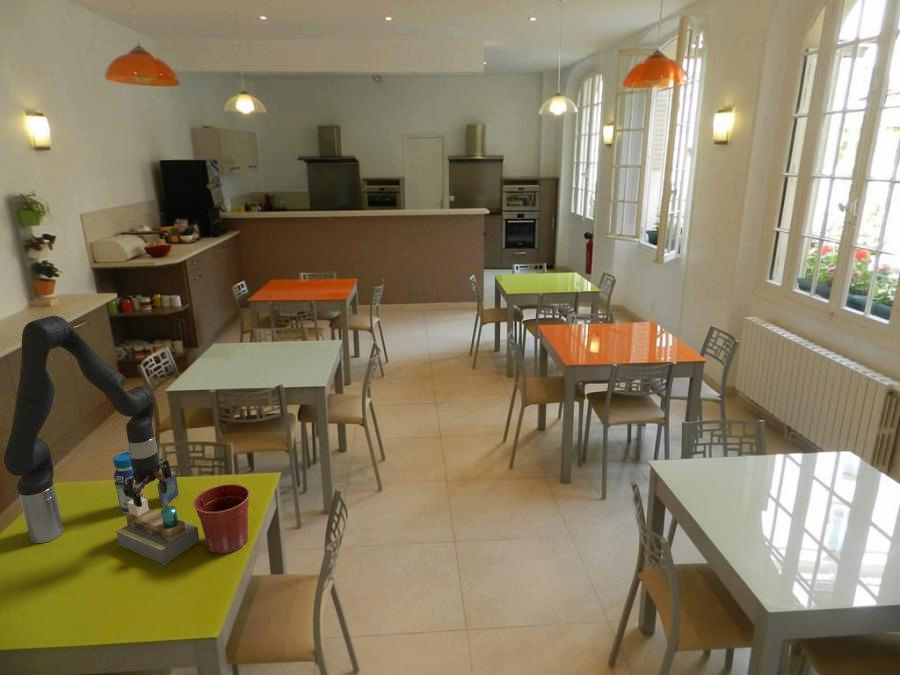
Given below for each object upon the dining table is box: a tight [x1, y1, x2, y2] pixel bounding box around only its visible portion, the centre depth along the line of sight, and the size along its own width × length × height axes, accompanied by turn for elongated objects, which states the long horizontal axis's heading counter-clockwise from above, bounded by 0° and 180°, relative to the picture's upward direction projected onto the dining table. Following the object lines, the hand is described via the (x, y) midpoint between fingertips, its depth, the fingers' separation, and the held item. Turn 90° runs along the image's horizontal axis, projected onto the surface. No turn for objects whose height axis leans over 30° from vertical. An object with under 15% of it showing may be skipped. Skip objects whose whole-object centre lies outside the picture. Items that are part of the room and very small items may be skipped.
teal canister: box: [160, 505, 179, 528], centre depth 184 cm, size 4×4×5 cm
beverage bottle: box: [112, 451, 147, 515], centre depth 207 cm, size 8×8×20 cm
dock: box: [115, 521, 200, 565], centre depth 189 cm, size 21×13×5 cm, turn 63°
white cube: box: [127, 497, 150, 517], centre depth 191 cm, size 4×4×4 cm
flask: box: [156, 471, 180, 508], centre depth 213 cm, size 9×3×11 cm, turn 172°
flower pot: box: [192, 483, 251, 555], centre depth 188 cm, size 16×16×16 cm
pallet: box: [125, 508, 186, 543], centre depth 188 cm, size 20×6×4 cm, turn 63°
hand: (151, 499), depth 186 cm, fingers open, 8 cm apart
